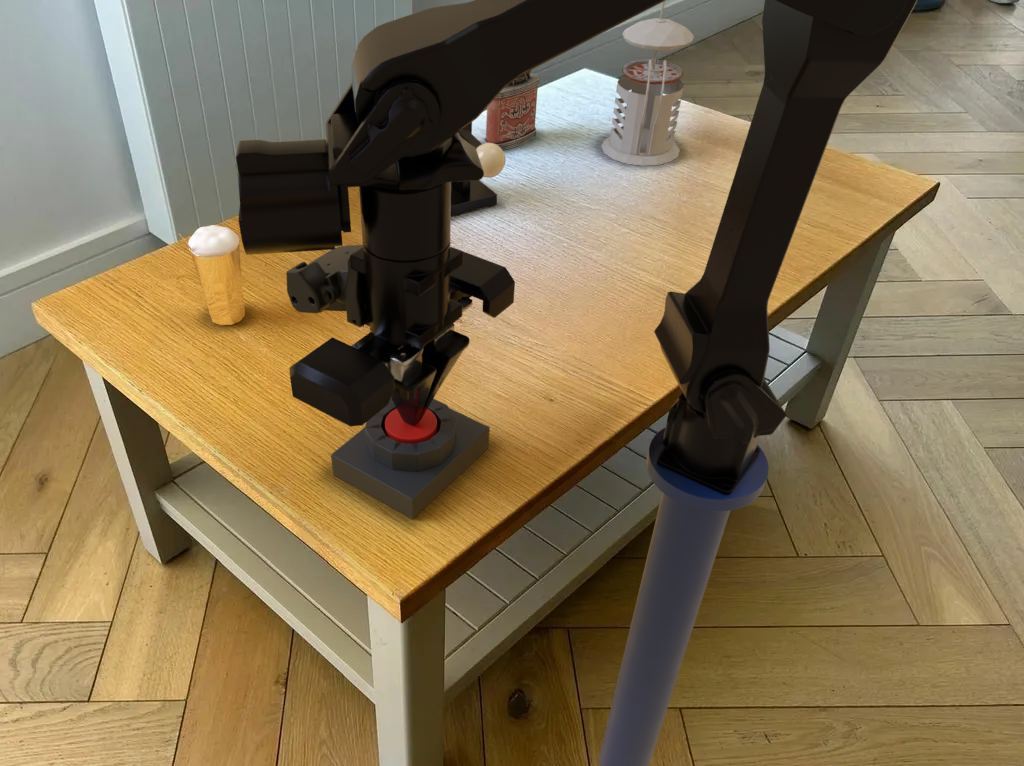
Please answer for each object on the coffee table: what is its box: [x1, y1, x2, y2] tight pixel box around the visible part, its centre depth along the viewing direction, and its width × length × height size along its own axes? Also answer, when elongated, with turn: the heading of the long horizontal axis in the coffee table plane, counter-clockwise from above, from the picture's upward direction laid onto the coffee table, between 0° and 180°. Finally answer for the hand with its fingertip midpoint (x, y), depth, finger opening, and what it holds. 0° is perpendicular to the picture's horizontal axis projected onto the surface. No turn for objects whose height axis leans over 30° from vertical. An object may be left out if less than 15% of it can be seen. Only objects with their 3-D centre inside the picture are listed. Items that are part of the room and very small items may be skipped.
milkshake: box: [177, 224, 246, 326], centre depth 83 cm, size 4×5×10 cm
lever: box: [458, 127, 506, 179], centre depth 94 cm, size 13×3×3 cm, turn 28°
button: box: [385, 409, 437, 444], centre depth 69 cm, size 4×4×2 cm
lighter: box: [483, 70, 541, 151], centre depth 112 cm, size 8×3×10 cm, turn 130°
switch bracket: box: [451, 122, 498, 218], centre depth 100 cm, size 8×10×12 cm
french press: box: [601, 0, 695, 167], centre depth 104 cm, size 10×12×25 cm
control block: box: [330, 398, 491, 520], centre depth 70 cm, size 8×10×4 cm
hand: (411, 421), depth 69 cm, fingers closed, pressing on button
